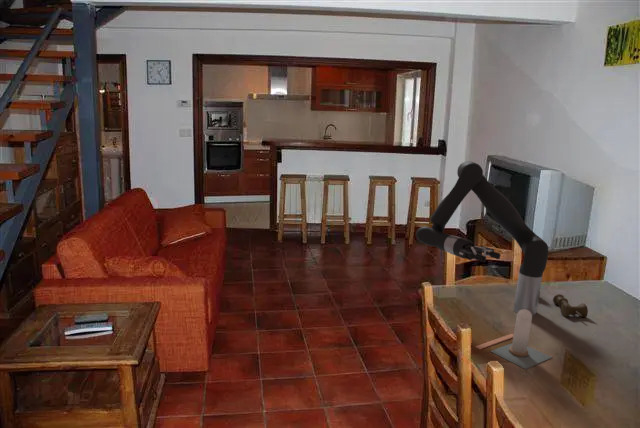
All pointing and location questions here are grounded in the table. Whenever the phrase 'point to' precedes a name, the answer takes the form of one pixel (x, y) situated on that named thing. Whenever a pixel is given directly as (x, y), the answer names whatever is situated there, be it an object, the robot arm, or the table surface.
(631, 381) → the table surface
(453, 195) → the robot arm
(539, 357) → the mat
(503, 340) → the distance line
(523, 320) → the skittle
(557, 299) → the kendama
